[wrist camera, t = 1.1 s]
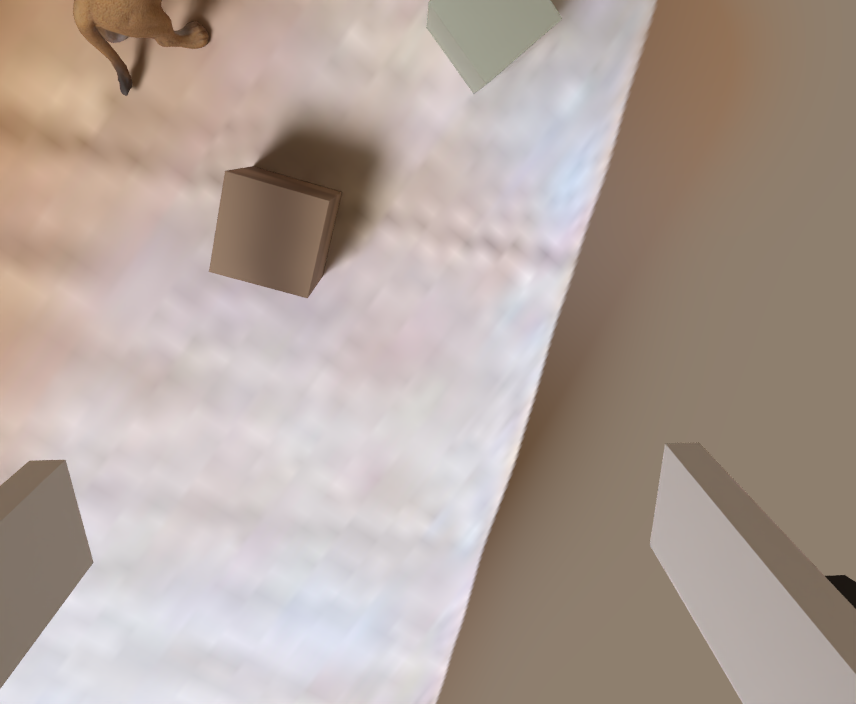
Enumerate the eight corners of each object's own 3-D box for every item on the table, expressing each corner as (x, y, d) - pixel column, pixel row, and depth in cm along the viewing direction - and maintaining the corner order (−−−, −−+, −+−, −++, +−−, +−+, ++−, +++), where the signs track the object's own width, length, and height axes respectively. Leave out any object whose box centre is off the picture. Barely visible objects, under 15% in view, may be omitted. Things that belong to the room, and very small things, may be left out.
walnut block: (238, 253, 33) (208, 271, 29) (253, 166, 32) (225, 171, 27) (322, 276, 34) (307, 298, 29) (342, 192, 32) (329, 201, 28)
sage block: (426, 27, 30) (428, 1, 24) (488, -30, 29) (506, -70, 23) (473, 94, 31) (486, 84, 25) (534, 41, 30) (562, 18, 24)
